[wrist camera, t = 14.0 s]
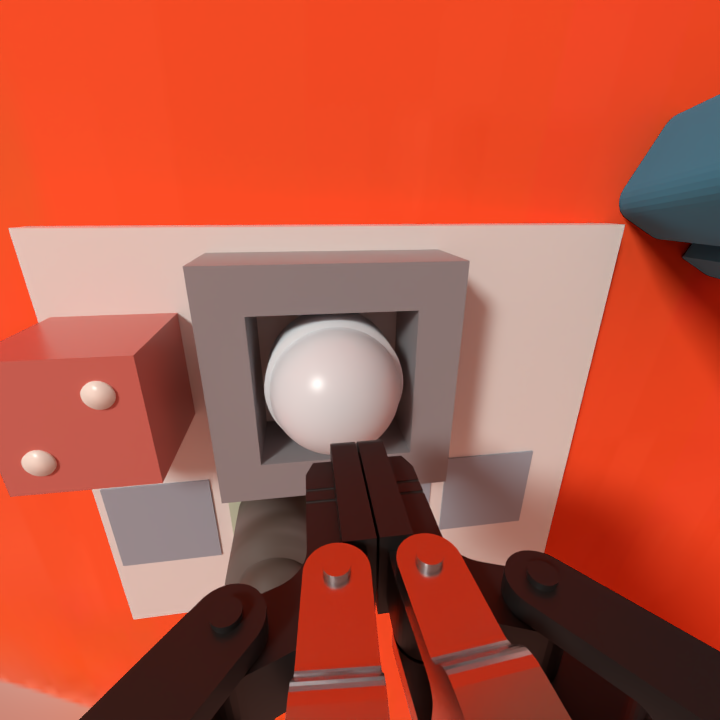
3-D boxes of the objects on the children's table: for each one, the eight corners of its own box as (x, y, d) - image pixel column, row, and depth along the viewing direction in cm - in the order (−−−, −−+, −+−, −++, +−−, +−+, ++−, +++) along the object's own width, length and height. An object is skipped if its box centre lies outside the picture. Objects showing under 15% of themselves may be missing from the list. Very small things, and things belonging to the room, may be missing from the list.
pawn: (319, 477, 21) (326, 574, 16) (320, 538, 23) (327, 645, 17) (234, 483, 21) (211, 586, 15) (242, 546, 22) (224, 660, 17)
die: (177, 312, 17) (131, 356, 12) (195, 413, 19) (161, 485, 14) (50, 317, 16) (-49, 365, 12) (82, 421, 18) (8, 498, 14)
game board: (606, 222, 20) (626, 224, 18) (531, 550, 28) (541, 566, 27) (28, 226, 16) (6, 228, 15) (140, 600, 24) (132, 621, 23)
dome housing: (438, 249, 18) (469, 261, 14) (423, 438, 21) (446, 481, 18) (205, 252, 16) (182, 266, 13) (233, 454, 20) (221, 503, 17)
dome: (391, 302, 18) (426, 341, 13) (387, 412, 20) (416, 480, 15) (263, 306, 17) (249, 350, 12) (273, 420, 19) (265, 495, 14)
